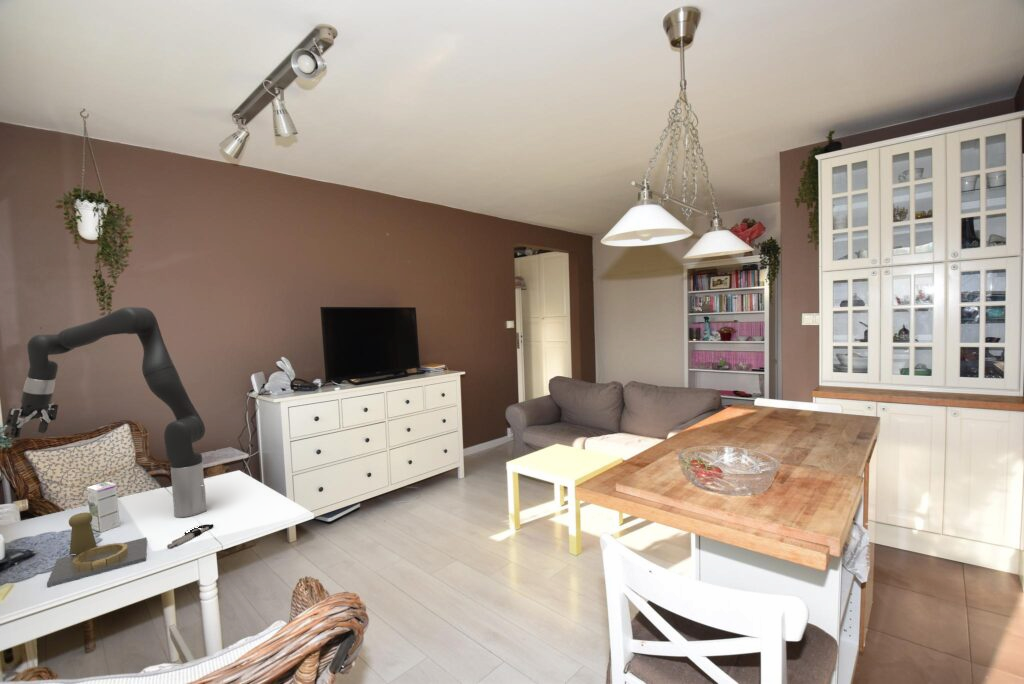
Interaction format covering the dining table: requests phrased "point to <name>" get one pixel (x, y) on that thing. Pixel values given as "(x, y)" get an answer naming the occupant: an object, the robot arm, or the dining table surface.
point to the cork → (81, 533)
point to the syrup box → (103, 506)
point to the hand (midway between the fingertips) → (28, 434)
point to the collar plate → (98, 561)
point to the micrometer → (189, 535)
